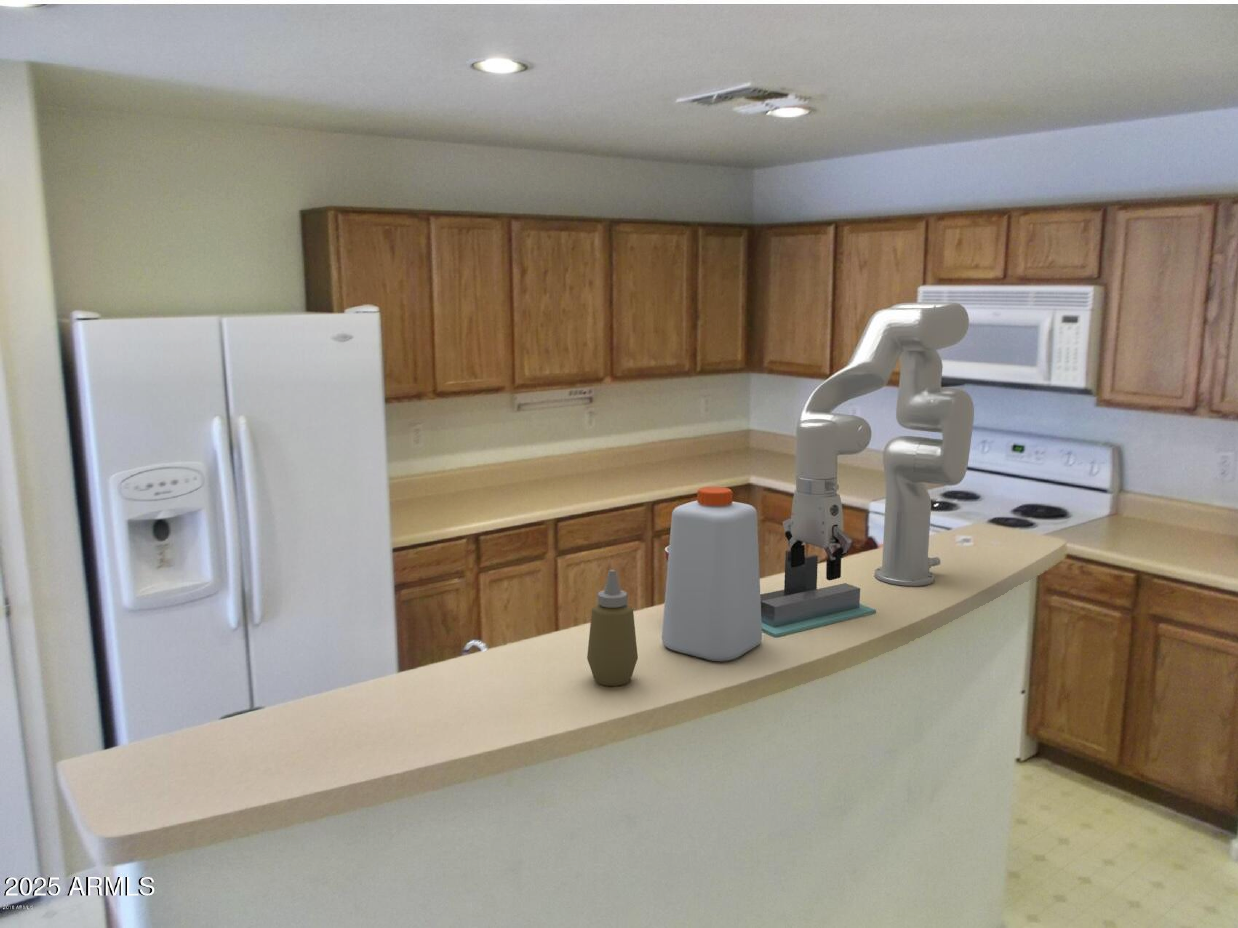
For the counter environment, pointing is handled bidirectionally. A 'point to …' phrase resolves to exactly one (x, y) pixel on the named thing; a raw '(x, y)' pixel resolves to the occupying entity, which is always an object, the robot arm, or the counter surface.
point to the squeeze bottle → (612, 636)
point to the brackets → (797, 578)
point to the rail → (809, 605)
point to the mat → (817, 621)
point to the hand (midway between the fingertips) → (815, 572)
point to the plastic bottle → (713, 578)
